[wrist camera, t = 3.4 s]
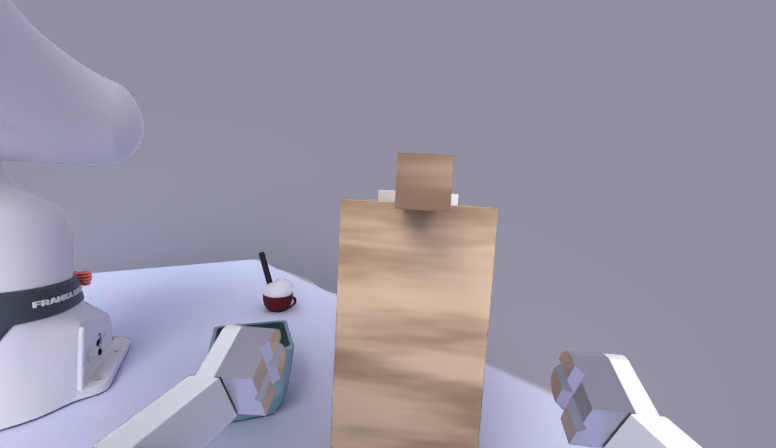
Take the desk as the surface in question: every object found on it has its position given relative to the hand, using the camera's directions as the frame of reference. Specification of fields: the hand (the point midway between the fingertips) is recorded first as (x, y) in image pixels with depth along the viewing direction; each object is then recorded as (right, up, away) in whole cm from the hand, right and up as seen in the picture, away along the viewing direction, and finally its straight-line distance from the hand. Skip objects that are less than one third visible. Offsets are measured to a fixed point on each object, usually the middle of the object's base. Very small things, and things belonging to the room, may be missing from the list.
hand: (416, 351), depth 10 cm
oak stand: (0, -20, +23) cm, 31 cm away
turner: (+2, +5, +18) cm, 19 cm away
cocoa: (-25, -15, +66) cm, 72 cm away
